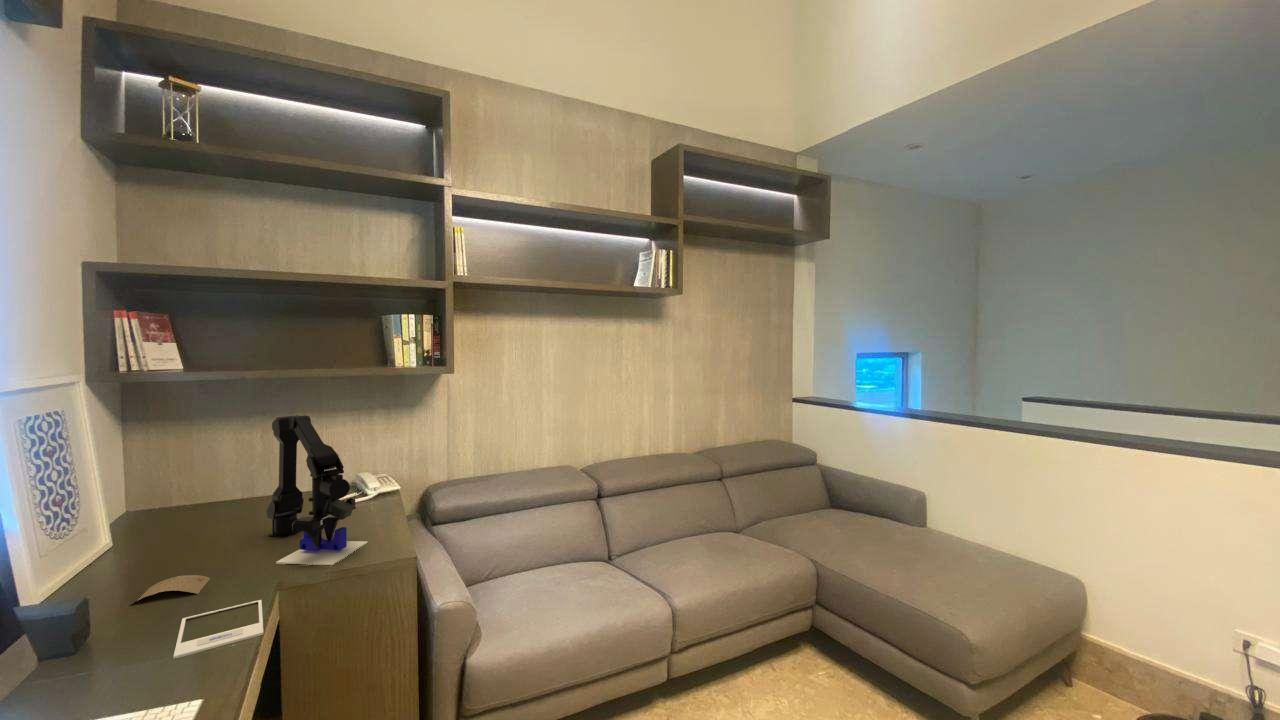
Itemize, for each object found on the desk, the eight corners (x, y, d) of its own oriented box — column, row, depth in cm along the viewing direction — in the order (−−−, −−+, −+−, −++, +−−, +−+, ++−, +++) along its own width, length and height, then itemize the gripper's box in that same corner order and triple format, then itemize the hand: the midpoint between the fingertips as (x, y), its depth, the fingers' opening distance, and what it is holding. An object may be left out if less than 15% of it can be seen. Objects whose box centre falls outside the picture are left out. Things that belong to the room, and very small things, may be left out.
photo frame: (173, 655, 103) (182, 617, 118) (173, 660, 103) (182, 622, 118) (263, 631, 112) (261, 598, 127) (263, 636, 112) (261, 603, 127)
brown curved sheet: (126, 609, 124) (126, 598, 124) (143, 591, 133) (142, 580, 133) (203, 595, 130) (203, 585, 130) (214, 579, 139) (213, 569, 139)
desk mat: (275, 564, 148) (275, 562, 148) (317, 541, 165) (317, 539, 165) (331, 566, 147) (331, 564, 146) (367, 543, 163) (367, 541, 163)
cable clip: (299, 549, 154) (299, 529, 154) (311, 543, 159) (311, 524, 159) (335, 552, 152) (335, 532, 152) (346, 546, 157) (346, 527, 157)
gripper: (327, 503, 145) (328, 557, 146) (367, 485, 164) (367, 533, 164) (290, 501, 146) (291, 556, 147) (334, 483, 165) (334, 532, 165)
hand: (323, 543), depth 156 cm, fingers closed on cable clip, 5 cm apart
